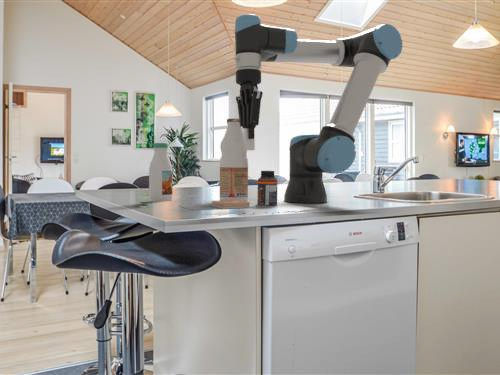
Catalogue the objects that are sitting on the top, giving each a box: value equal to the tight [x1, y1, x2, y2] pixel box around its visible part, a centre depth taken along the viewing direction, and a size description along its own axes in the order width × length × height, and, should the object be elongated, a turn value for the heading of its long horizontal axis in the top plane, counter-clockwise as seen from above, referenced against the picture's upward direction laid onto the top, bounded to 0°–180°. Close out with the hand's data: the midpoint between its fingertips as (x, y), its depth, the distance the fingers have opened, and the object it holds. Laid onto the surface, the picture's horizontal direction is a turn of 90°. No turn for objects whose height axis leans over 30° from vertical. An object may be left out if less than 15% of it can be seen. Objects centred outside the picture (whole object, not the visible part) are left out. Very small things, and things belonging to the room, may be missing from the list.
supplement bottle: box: [257, 170, 278, 207], centre depth 134 cm, size 6×6×11 cm
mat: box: [178, 204, 254, 211], centre depth 126 cm, size 18×13×1 cm
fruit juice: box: [219, 118, 249, 202], centre depth 147 cm, size 9×9×28 cm
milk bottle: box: [148, 142, 173, 203], centre depth 149 cm, size 8×8×20 cm
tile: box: [211, 200, 250, 210], centre depth 127 cm, size 8×2×8 cm
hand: (249, 150), depth 132 cm, fingers closed
